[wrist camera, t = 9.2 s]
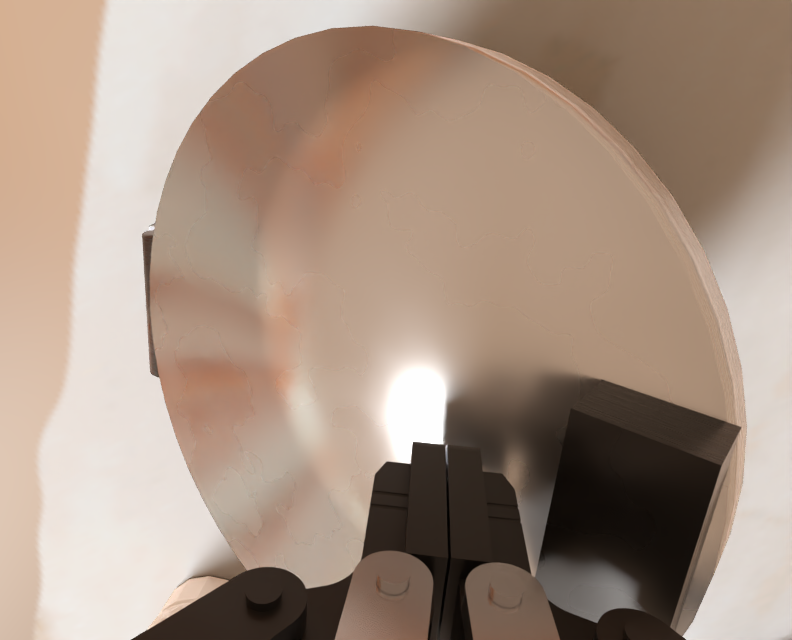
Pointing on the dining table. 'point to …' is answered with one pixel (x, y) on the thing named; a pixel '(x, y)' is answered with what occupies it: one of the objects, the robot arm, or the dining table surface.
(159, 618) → the white cup
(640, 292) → the lid
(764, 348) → the dining table surface
